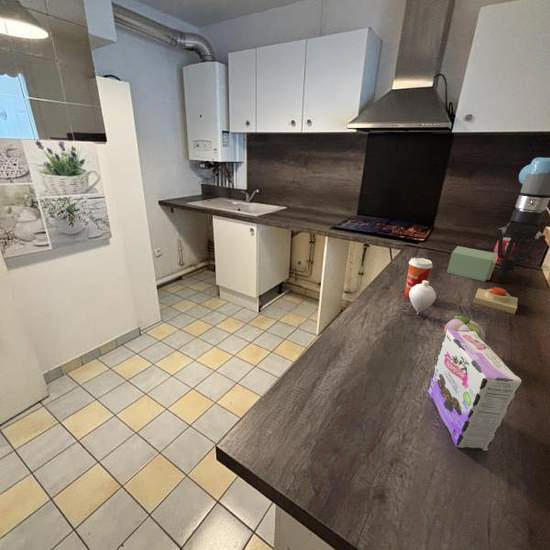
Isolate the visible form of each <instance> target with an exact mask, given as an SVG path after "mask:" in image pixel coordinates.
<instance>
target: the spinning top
mask: <svg viewBox="0 0 550 550" xmlns="http://www.w3.org/2000/svg"><path fill="white" fill-rule="evenodd" d="M409 297H410V298H409V300H410V303H411V305H412V307H413V308H414V311H415V312H416V315H419V313H421V312H423V311H425V310H426V309H428V308H429V307H431V305H433V303H435V301H436V300H437V293H436V291H435V289H434V287H432V286H430V281H428V280H427V281H425V280H424V281H422V284H417V285H415V286H414V287H412V288H411V290H410V292H409Z"/></svg>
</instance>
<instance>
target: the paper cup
mask: <svg viewBox="0 0 550 550" xmlns="http://www.w3.org/2000/svg"><path fill="white" fill-rule="evenodd" d="M433 267H434V266H433V262H432V261H431V260H430V259H427V258H423V257H411V258H410V260H409V261H408V270H407V276H406V282H405V290H404V296H405V297H406V298H407V299H410V297H409V292H410V290H411V288H412V287H414V286H415V285H417V284H422V281H424V280H425V281H428V278H429V275H430V272H431V270H432V268H433Z"/></svg>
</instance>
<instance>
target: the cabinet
mask: <svg viewBox="0 0 550 550" xmlns="http://www.w3.org/2000/svg"><path fill="white" fill-rule="evenodd" d="M494 255H495V253H493V252H492V251H486V250H480V249H475V248H470V247H464V246H459V245H458V246H456V247H455V248H454V250H453V251H452V252H451V256H450V259H449V263H448V266H447V270H446V273H447V274H451V275H455V276H459V277H464V278H468V279H472V280H476V281H481V282H484V283H485V282H486V281H487V279H486V278H487V275H488V272H489V269H490V267H491V264H492V261H493V258H494Z"/></svg>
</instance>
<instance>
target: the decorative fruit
mask: <svg viewBox="0 0 550 550" xmlns="http://www.w3.org/2000/svg"><path fill="white" fill-rule="evenodd" d="M446 330H462V331H475V332H476V333H477V334H478V336H479V337H480V338H481V339H482V340H483V341H484V342H485V341H486V333H485V330H484V329H483V328H482V326H481V325H480V324H478V323H477V322H475V321H474V320H471V318H470V317H469V318H467V317H464V316H463V315H462V316H461V315H455V316H453V319H451V320H449V321H448V322H447V323H446V324H445V325H444V329H443V331H444V334H445V333H446Z"/></svg>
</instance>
